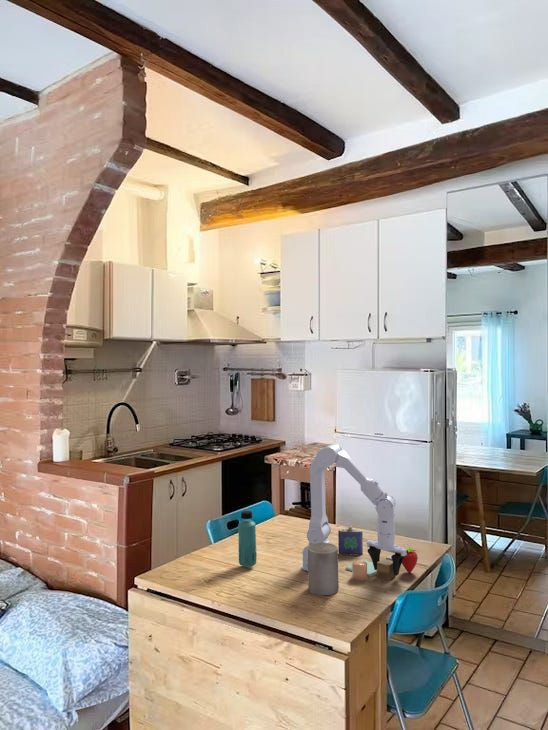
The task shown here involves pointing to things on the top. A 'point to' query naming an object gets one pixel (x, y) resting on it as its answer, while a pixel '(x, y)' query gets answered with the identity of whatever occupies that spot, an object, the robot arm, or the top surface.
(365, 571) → the peach domed cylinder
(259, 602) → the top surface
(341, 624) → the top surface
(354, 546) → the flask
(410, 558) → the strawberry
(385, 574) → the walnut block
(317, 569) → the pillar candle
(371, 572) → the coaster
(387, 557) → the grey square block
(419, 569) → the top surface
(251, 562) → the beverage bottle
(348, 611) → the top surface
